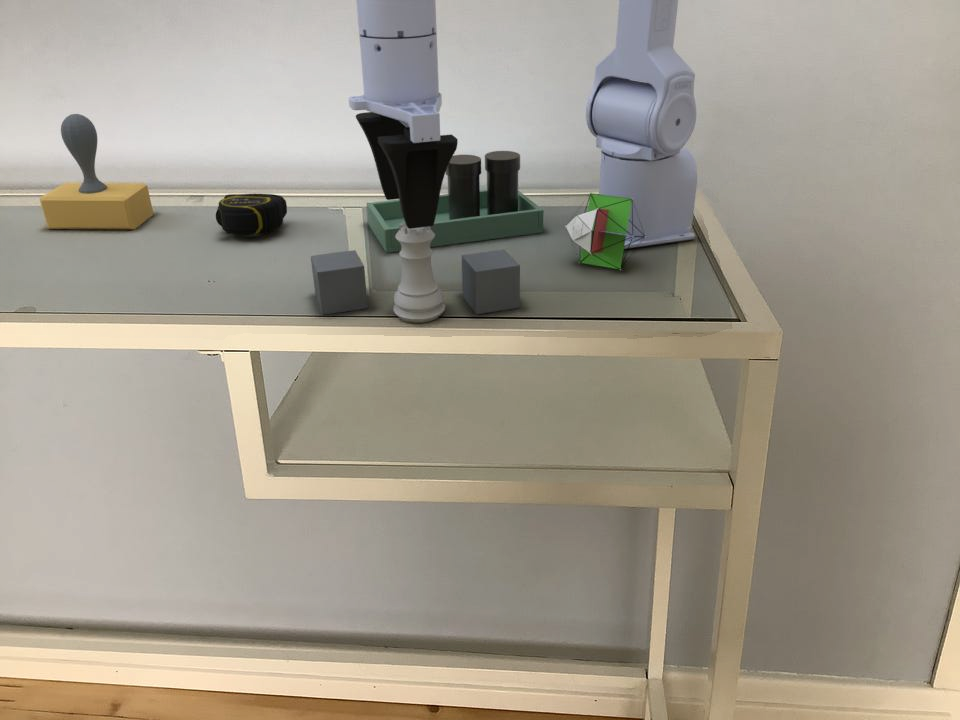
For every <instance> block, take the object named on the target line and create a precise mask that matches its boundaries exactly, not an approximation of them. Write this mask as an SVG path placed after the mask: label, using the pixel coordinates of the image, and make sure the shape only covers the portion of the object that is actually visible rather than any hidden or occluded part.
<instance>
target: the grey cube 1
mask: <svg viewBox="0 0 960 720" xmlns="http://www.w3.org/2000/svg"><path fill="white" fill-rule="evenodd" d="M310 263H311V272H312V278H313V284H314V285H313V287H314V295H315V299H316V302H317V305H318V307H319V310H320V313H321V315H322V316H324V315H333V314H338V313H345V312H352V311H357V310H366V309H368V308H369V305H368V304H369V303H368V294H367V284H366V282H367V281H366V271H365V265H364V263H363V262H362V259H361V258H360V256H359V254H358V252H357V251H356V249H353V250H352V249H351V250H346V251H338V252H331V253H322V254H315V255H310Z"/></svg>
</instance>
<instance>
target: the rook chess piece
mask: <svg viewBox="0 0 960 720" xmlns="http://www.w3.org/2000/svg"><path fill="white" fill-rule="evenodd" d="M434 237H435V234H434V233H433V231H432V230H431V229H430V226H428V227H420V228H412V229H409V228H408V227H407V226H406V223H405V221H403V224H401V223H400V224H399V231H398V232H397V234H396V236H395V238H396V239H397V240H398V241H399V242H400V244H401V247H402V250H401V251H399V253H398V255H399V257H401V277H400V278H401V279H400V282H399V284H398V286H397V290H396V291H395V293H394V296H393V302H394V305H393V310H392V311H393V312H394V314H395V315H396V316H397V317H398V318H399V319H400V320H401V321H404V322H408V323H418V324H420V323H428V322H432V321H434V320H437V319H439V317H440V316H441V315H443V313H444V311H445V309H446V305H445V304H444V298H445V296H444V293H443V291H442V290H441V289H440V288H439V284H438V283H437V282H436V279H435V276H434V275H435V274H434V271H433V265H432V256H433V254H434V251H433V250H432V249H431V247H430V243H431V241H432V240H433V238H434Z"/></svg>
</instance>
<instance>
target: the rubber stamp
mask: <svg viewBox="0 0 960 720" xmlns="http://www.w3.org/2000/svg"><path fill="white" fill-rule="evenodd" d="M60 125H61V126H60V136H61V139H62V141H63V143H64V145H65V146H66V149H67V150H68V152H69V153H70V155H71V156H72V157H73V159H74V160H75V161H76V163H77V165H78V167H79V168H80V170H81V173H82V176H83V181H82V182H65V183H63V184H61V185H59V186H57V187H56V188H54V189H52V190H51V191H49V192H47V193H45V194H43V195H42V196H40V197H39V202H40V206H41V210H42V212H43V213H42V214H43V216H44V219H45V223H46V227H47V229H50V230H125V231H127V230H132V231H134V230H136V229H137V228H139V227H140V226H141V225H143V224H144V223H145V222H146V221H147V220H149V219H150V218H151V217H152V216H154V209H153V206H152V201H151V196H150V192H149V187H148V184H147V183H144V182H102V181H101V180H99V178H98V177H97V174H96V155H97V149H98V133H97V128H96V126H95V124H94V123H93V122H92V121H91V120H90V118H88V117H87V116H85V115H83V114H79V113H72V114H69V115H68V116H66V117H65V118H64V119H63V121H62V122H61V124H60Z"/></svg>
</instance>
